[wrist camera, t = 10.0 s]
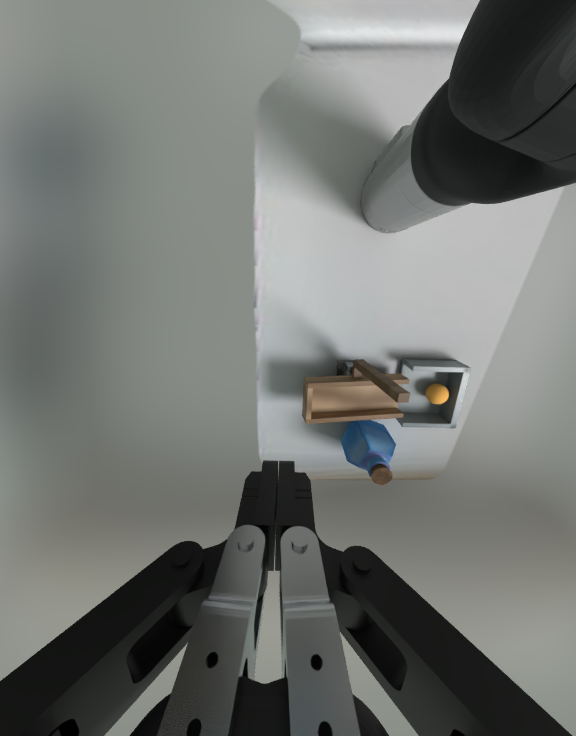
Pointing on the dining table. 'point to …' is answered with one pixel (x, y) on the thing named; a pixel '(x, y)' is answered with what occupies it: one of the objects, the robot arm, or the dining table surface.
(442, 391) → the ball
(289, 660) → the robot arm
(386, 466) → the perfume bottle
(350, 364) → the fulcrum
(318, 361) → the dining table surface
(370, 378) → the lever
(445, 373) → the tray
